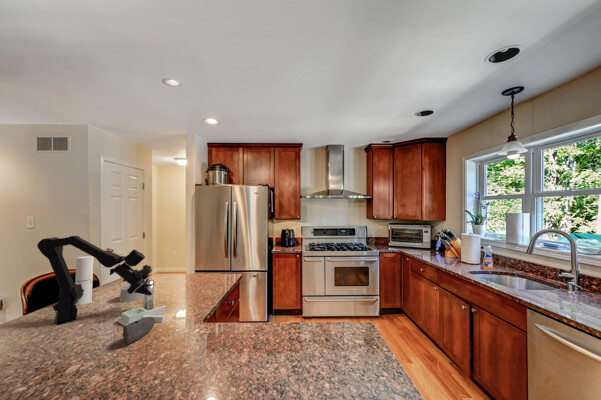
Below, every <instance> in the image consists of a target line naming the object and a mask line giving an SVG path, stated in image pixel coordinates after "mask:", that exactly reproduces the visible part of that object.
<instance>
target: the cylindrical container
mask: <svg viewBox="0 0 601 400" xmlns="http://www.w3.org/2000/svg"><path fill="white" fill-rule="evenodd" d="M94 259H95V257H93V256H91V255H87V256H86V255H85V256H77V257H76V259H75V260H76V262H75V264H76V265H75V282H74V283H75V284H77V285H79V284H81V285H82V289H83V290H84V291H83V296H82V298H81V299H80V300H78V302H77V303H76V304H75V305H76V306H83V305H86V304H89V303H90V304H91V303H92V300H93V299H92V298H93V297H92V296H93V279H94Z"/></svg>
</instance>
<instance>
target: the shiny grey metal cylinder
mask: <svg viewBox="0 0 601 400" xmlns="http://www.w3.org/2000/svg"><path fill="white" fill-rule="evenodd" d="M146 280H147V279H146ZM145 286H146V287H147V288H148V289H149V290H150V292H151V293H152V295H151V296H150V295H145V294H144V298H143V299H144V300H143V303H144V304H143V308H144V309H146V310H151V309H154V297H155V295H154V294H155V293H154V292H155V279H150V280H147V281H145Z"/></svg>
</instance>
